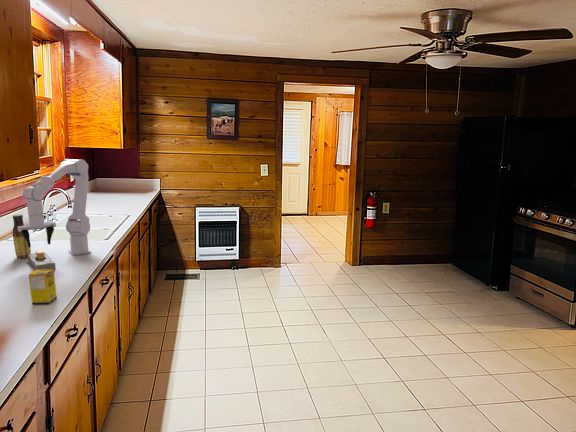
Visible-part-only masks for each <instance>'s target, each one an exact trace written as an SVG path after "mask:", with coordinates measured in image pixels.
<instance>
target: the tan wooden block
mask: <svg viewBox="0 0 576 432" xmlns="http://www.w3.org/2000/svg"><path fill="white" fill-rule="evenodd" d="M44 252H45V251H43V250H36V251H35V253H36V257H37V260H43V259H45V258H44Z"/></svg>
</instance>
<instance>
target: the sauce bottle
mask: <svg viewBox="0 0 576 432" xmlns="http://www.w3.org/2000/svg"><path fill="white" fill-rule="evenodd" d="M12 220H13V228H12V238H13V246H14V252H15V255H16V258H17V259H21V260H22V259H28V258H27V254H32V249H31V247H28V244H27V241H26V239H25V237H24V236H23V234H22V233H21V232H19V231H18V226H24V225H25V224H24V216H23V214H14V215H12Z"/></svg>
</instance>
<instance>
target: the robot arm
mask: <svg viewBox="0 0 576 432" xmlns="http://www.w3.org/2000/svg"><path fill="white" fill-rule="evenodd" d="M66 174H68V175H70V176H71V177H72V178H73V179H74V180H75V184H74V195H73V203H72V204H73V205H72V206H73V207H72V213H71V214H70V215H69V216H68V217H67V219H68V220H67V222H66V223H65V229H66V230H65V231H67V232H68V234H69V235H70V237H69V244H70V250H68V252H69V253H70V254H71V255H73V256H78V255H84V254H91V253H92V251H91V250H90V249H89V242H88V240H89V239H88V234H89V232H90V230H91V224H90V218H89V216H88V215H86V211H87V209H86V207H87V198H88V189H89V187H88V186H89V164H88V163H87V162H86V160H85V159H82V158H81V159H73V158H72V159H70V158H65V159H64V160H63V161H62V162H60V165H59V166H58V167H56V168H55V169H54V170H53V171H52V172H51V173H50V174H49V175H42V176H41V175H40V178H39V179H38V180H36V182H33V183H32V185H31V186H26V187H25V188H24V189H23V192H22V194H21V195H22V198H23V199H24V200H25V204H26V206H27V207H26V208H27V214H28V215H27V216H28V224H26V225H25V224H24V226H18V231H19V232H21V233H22V234H23V236H24V237H25V239H26V241H27V244H28V247H30V248H32V247H31V246H32V245H31V240H30V239H31V238H30V232H29V231H32V230H41V229H45V230H46V231H45V232H46V243H47V245H51V243H52V242H51V241H52V236H53V233H54V231H55V228H56V227H57V223H56V221H51V222H49V221H48V222H45V218H44V216H45V215H44V210H43V209H44V208H43V207H44V206H43V199H44V198H45V194H46V193H47V192H48V191H50V190H51V189H52V188H53V187H54V186H55V182H56V181H58V180H59V179H61V178H62V177H64V176H65V175H66Z"/></svg>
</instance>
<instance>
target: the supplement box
mask: <svg viewBox="0 0 576 432" xmlns="http://www.w3.org/2000/svg"><path fill="white" fill-rule="evenodd" d="M55 278H56V277H55V270H54V269H36V270H35V269H34V270H33V271H32V272H30V273H28V282H29V283H28V284H29V290H30V298H31V304H34V305H49V304H48V303H50V302H51V303H52V301H53V300H54V299H55V300H56V299H57V288H56V287H57V286H56V281H55V280H56V279H55ZM55 300H54V301H55ZM54 301H53V302H54ZM51 303H50V304H51Z"/></svg>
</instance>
